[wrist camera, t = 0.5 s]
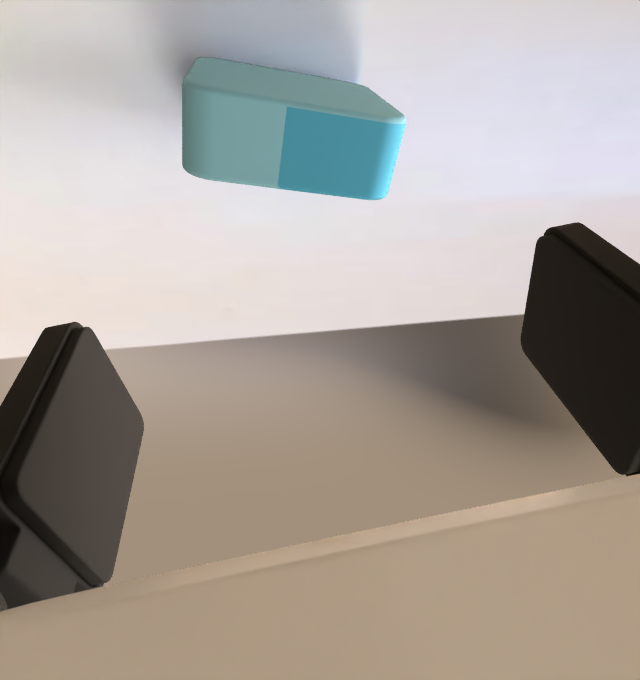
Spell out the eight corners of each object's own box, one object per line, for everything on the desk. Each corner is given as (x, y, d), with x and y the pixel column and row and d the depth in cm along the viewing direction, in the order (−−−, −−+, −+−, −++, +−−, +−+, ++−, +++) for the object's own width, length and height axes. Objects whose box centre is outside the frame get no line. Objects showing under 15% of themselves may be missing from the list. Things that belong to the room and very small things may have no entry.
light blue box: (196, 125, 34) (179, 177, 24) (197, 54, 31) (178, 82, 22) (353, 148, 36) (393, 204, 27) (366, 84, 34) (415, 121, 24)
